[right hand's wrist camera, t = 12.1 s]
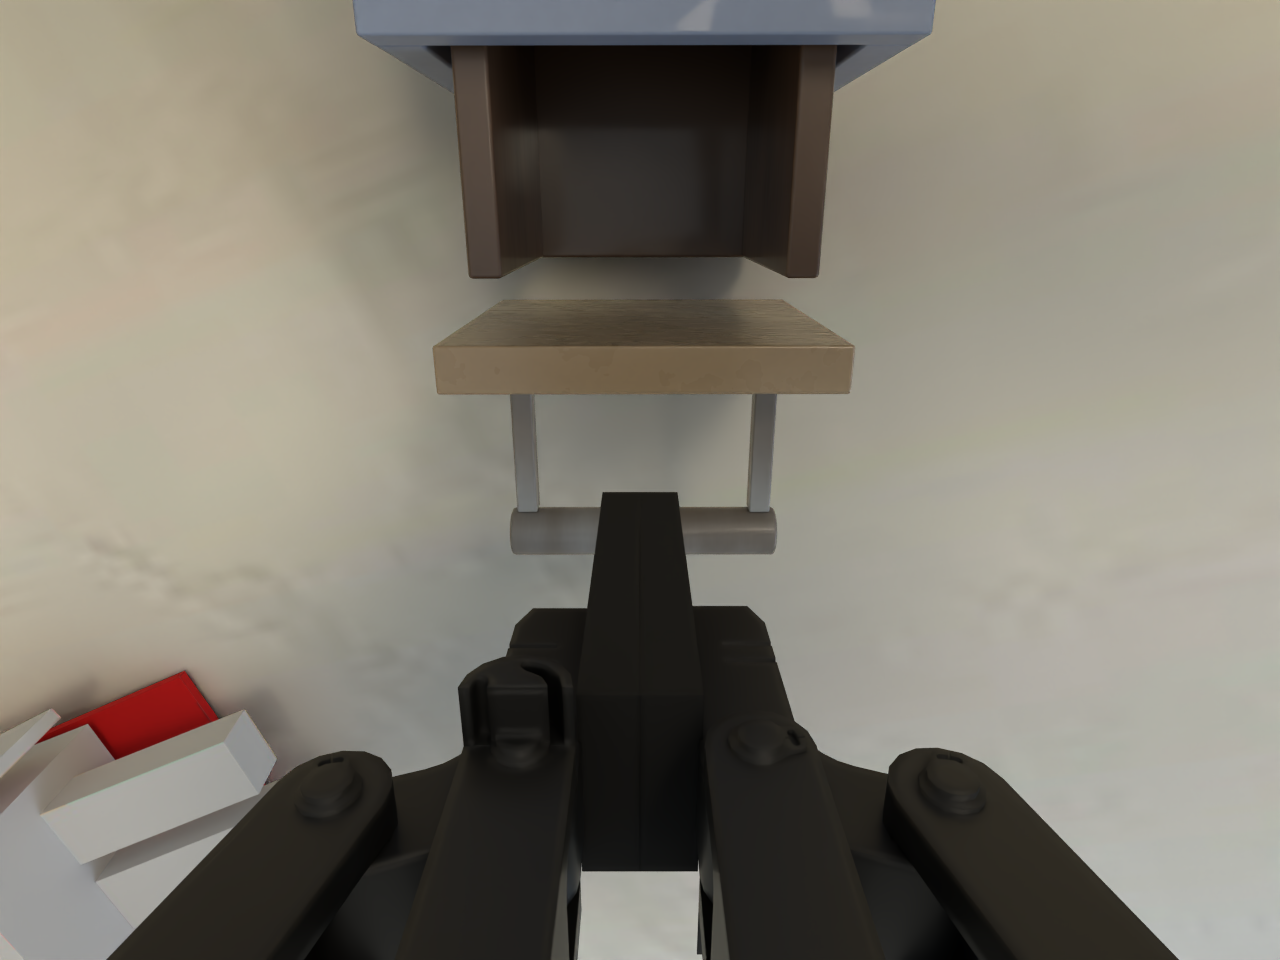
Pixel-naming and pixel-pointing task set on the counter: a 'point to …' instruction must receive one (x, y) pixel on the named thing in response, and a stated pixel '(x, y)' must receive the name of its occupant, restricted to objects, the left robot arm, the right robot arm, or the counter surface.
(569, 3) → the cabinet
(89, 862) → the toy
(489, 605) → the counter surface
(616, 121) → the drawer
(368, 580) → the counter surface
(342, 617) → the counter surface
